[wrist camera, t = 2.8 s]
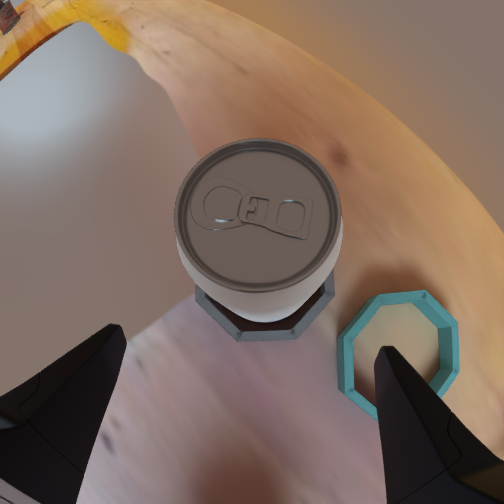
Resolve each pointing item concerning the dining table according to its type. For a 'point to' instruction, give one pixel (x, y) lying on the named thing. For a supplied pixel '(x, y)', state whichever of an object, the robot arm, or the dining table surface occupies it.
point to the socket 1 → (325, 297)
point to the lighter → (7, 16)
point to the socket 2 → (431, 311)
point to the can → (258, 227)
